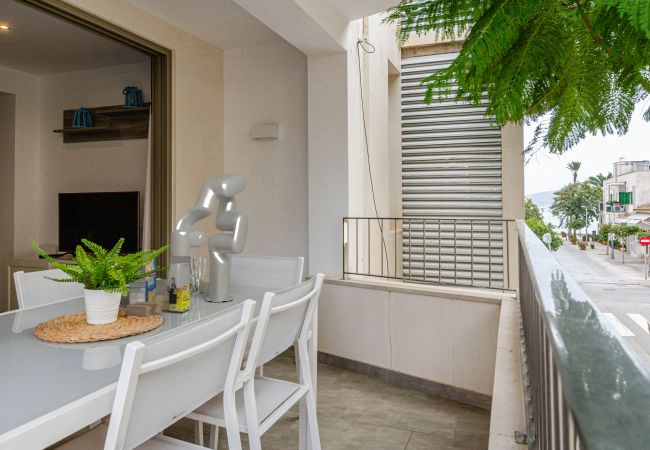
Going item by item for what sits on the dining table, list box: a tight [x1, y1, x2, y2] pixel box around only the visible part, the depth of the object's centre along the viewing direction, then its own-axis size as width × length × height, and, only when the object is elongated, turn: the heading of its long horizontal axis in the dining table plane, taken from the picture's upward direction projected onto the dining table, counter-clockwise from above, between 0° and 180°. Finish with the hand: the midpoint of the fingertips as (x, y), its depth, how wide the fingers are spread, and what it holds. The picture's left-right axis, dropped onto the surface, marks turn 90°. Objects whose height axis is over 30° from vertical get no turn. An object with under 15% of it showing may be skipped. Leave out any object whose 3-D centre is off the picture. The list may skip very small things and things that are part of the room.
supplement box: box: [168, 285, 191, 314], centre depth 181 cm, size 6×6×11 cm
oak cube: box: [156, 292, 170, 311], centre depth 187 cm, size 6×6×6 cm
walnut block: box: [125, 302, 163, 317], centre depth 171 cm, size 9×9×5 cm
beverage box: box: [128, 256, 157, 305], centre depth 189 cm, size 7×11×22 cm, turn 179°
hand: (179, 301), depth 181 cm, fingers open, 9 cm apart
